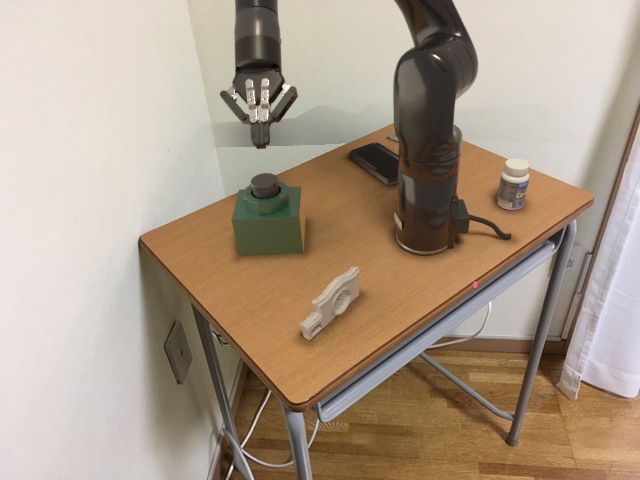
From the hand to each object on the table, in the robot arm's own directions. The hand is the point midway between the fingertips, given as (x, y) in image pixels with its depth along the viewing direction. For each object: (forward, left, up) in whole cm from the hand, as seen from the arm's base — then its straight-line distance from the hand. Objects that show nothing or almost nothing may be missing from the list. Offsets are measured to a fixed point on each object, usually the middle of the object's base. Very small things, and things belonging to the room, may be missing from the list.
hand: (260, 147), depth 83 cm
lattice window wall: (-10, +21, -17) cm, 29 cm away
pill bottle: (-43, -5, -17) cm, 47 cm away
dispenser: (0, +2, -17) cm, 17 cm away
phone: (-21, -21, -17) cm, 34 cm away
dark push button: (0, +2, -7) cm, 8 cm away
